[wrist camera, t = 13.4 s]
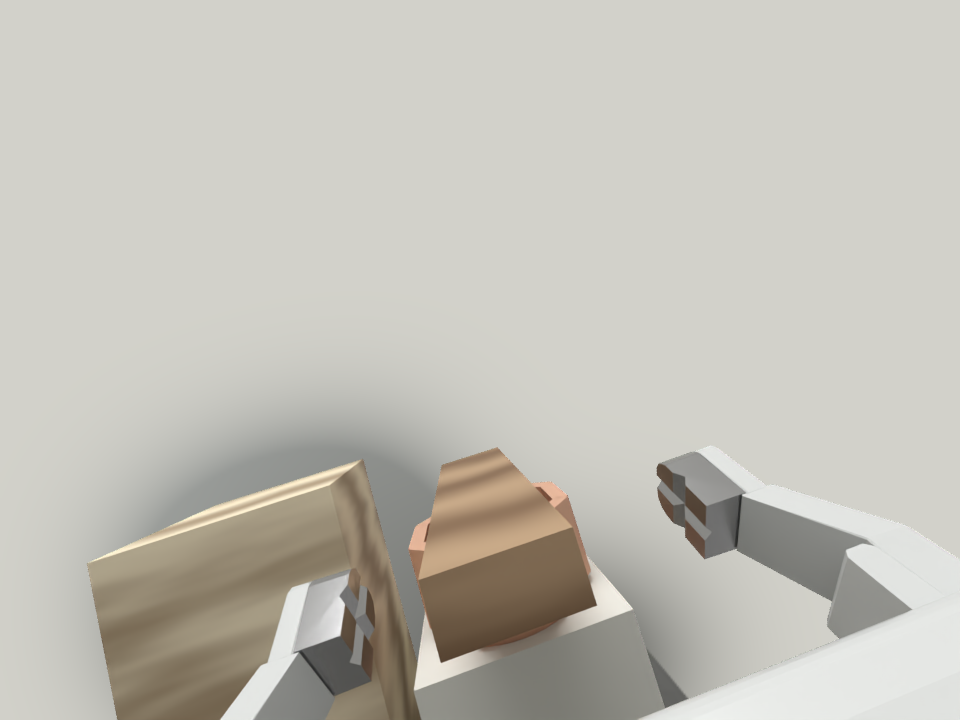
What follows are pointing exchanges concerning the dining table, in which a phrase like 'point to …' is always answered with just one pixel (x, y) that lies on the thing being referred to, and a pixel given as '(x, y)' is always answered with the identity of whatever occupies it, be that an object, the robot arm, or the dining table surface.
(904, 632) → the robot arm
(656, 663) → the dining table surface
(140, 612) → the stand
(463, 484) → the lid slat
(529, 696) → the block
